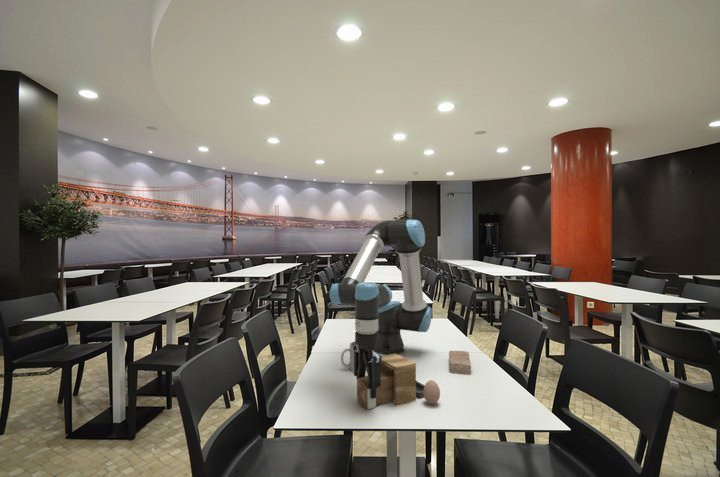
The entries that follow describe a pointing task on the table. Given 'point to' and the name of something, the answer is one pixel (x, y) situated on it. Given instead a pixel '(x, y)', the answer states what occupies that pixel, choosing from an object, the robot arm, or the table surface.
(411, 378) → the tunnel
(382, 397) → the walnut block
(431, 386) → the egg
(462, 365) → the brick
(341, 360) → the mug
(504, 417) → the table surface
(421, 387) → the tray
